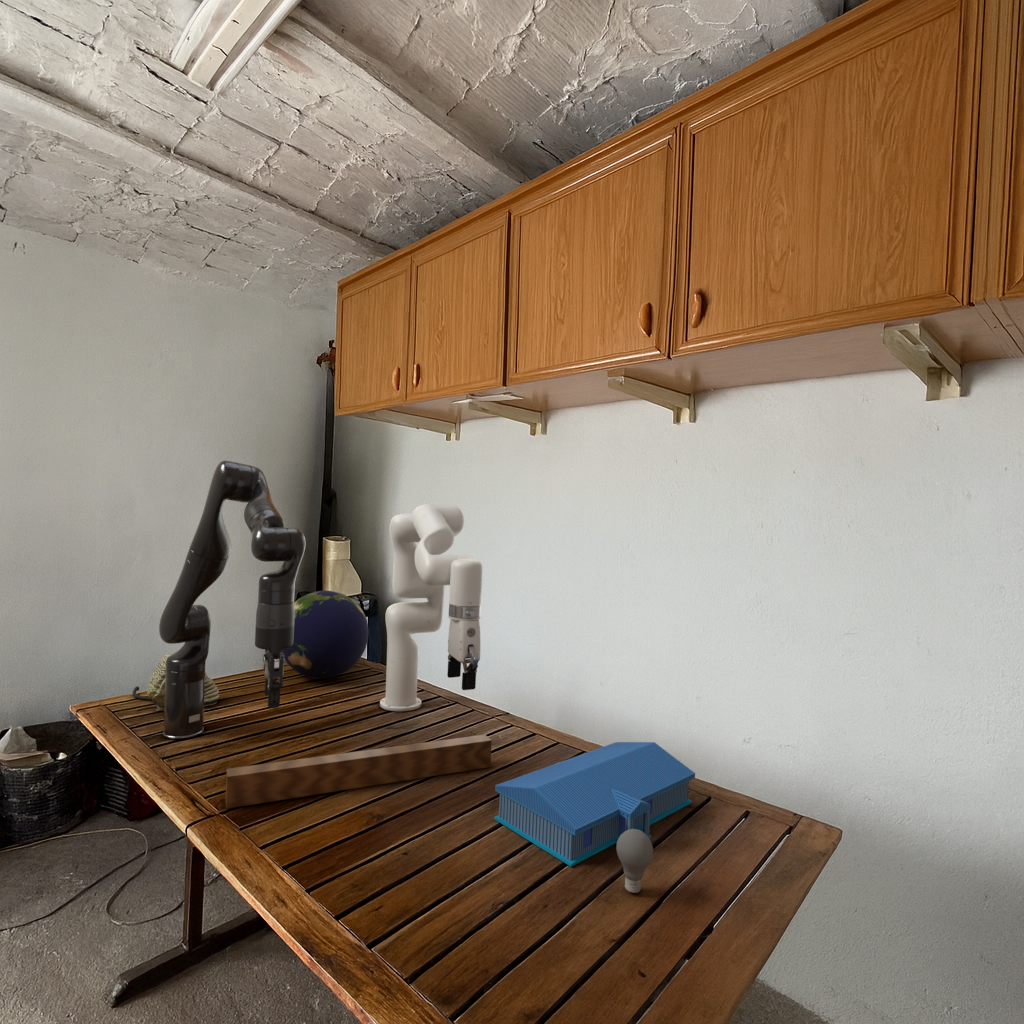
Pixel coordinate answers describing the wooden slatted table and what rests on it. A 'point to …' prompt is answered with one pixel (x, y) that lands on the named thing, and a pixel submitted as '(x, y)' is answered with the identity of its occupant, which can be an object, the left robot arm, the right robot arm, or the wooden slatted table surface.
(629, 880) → the light bulb
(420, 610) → the right robot arm
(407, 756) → the bar
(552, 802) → the model building
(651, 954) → the wooden slatted table surface
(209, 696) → the fossil
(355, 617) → the globe
